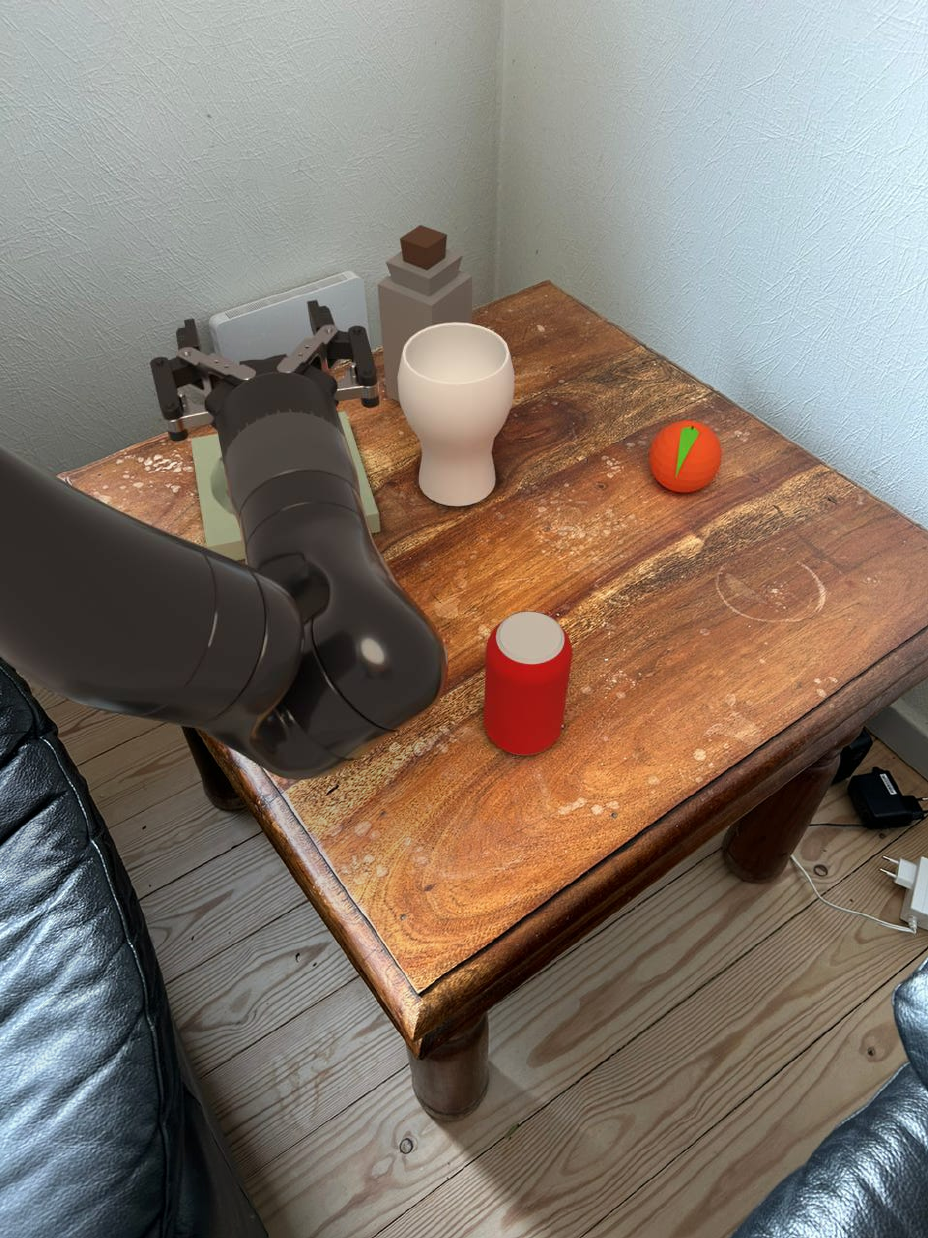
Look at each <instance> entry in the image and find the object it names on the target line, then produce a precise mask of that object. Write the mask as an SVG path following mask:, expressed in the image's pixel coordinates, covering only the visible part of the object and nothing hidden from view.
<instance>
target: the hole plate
mask: <svg viewBox="0 0 928 1238" xmlns="http://www.w3.org/2000/svg"><path fill="white" fill-rule="evenodd" d="M338 414H339V417H340V420H341V423H342V427H343V430H344V433H345V436H346V439H347V442H348V445H349V449H350V452H351V455H352V458H353V461H354V464H355V468H356V471H357V475H358V480H359V486H360V496H361V501H362V504H363V507H364V510H365V514H366V517H367V520H368V523H369V526H370V530H371V533H372V534H375V533H380V532H381V521H380V513H379V509H378V506H377V503H376V501H375V498H374V494H373V491H372V488H371V485H370V482H369V479H368V476H367V473H366V469H365V467H364V464H363V461H362V456H361V454H360V451H359V449H358V445H357V442H356V439H355V436H354V433H353V429H352V427H351V424H350V420H349V418H348V415H347V412H346V411H344V410H343V411H340V412H339V411H338ZM190 446H191V452H192V458H193V465H194V471H195V479H196V484H197V486H196V487H197V492H198V499H199V505H200V512H201V518H202V525H203V533H204V539H205V547H206V548H208V549H210V550H213V551H215V552H218V553H220V554H222V555H225V556H227V557H229V558H232V559H234V560H236V561H241V560H245V555H244V550H243V545H242V539H241V534H240V528H239V524H238V522H237V519H236V517H235V515H234V512H233V509H232V506H231V502H230V498H229V496H228V492H227V490H228V489H227V488H228V487H227V481H226V476H225V470H224V465H223V459H222V454H221V448H220V443H219V437H218V433H214V434H208V435H202V436H197V437H191V438H190Z"/></svg>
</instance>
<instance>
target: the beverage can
mask: <svg viewBox="0 0 928 1238" xmlns="http://www.w3.org/2000/svg"><path fill="white" fill-rule="evenodd" d="M572 662H573V645H572V642H571V639H570V637H569V635H568V633H567V632H566V630H565V629H564V628H563V626H561V625H560V623H559V622H558V621H557V620H556V619H554V618H553V617H551V616H550V615H548V614H546V613H543V612H539V611H534V610H527V611H519V612H515V613H513V614H511V615H509V616H507V617H506V618H504V619H503V620H502V621H500V622H499V623H498V624H497V625H496V626H495V627H494V628H493V629H492V631H491V632H490V634H489V636H488V638H487V641H486V645H485V663H484V664H485V665H484V667H485V668H484V703H483V725H484V730H485V733H486V734H487V736H488V738H489V739H490V740H491V742H493V744H494V745H496V746H497V747H498V748H500V749H501V750H504V751H505V752H507V753H510V754H512V755H518V756H532V755H537V754H540V753H542V752H545V751H547V750H548V749H549V748H551V747H552V746H553V745H554V744H555V743H556V742H557V740H558V738H559V737H560V734H561V733H562V728H563V723H564V715H565V709H566V701H567V695H568V688H569V681H570V675H571V669H572Z"/></svg>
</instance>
